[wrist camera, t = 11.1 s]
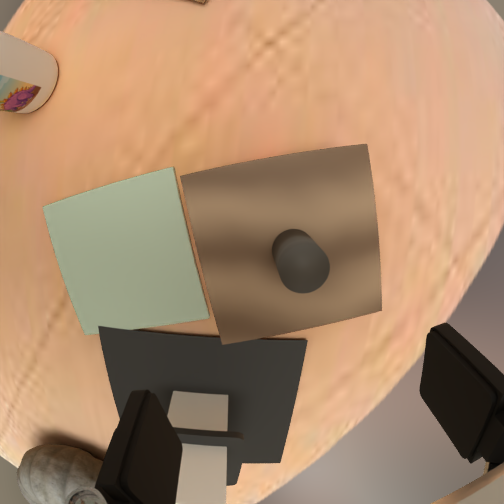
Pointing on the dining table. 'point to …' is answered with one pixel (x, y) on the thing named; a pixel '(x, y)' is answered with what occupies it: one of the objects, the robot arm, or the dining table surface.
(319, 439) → the dining table surface
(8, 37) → the milk bottle
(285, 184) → the walnut lid
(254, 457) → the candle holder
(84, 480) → the gourd
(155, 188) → the sage mat
